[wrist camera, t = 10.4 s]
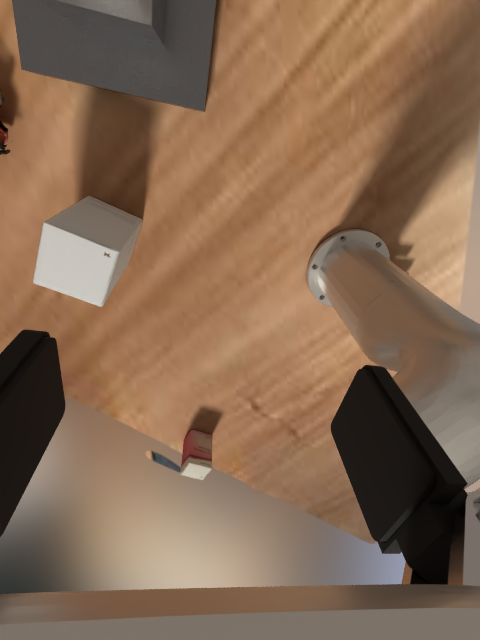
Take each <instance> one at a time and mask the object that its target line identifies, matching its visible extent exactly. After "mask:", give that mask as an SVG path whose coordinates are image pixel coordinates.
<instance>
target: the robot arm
mask: <svg viewBox="0 0 480 640" xmlns="http://www.w3.org/2000/svg"><path fill="white" fill-rule="evenodd" d="M342 236H343V237H342ZM341 237H342V238H341ZM376 243H377V244H376ZM314 264H315V265H314ZM313 265H314V266H313ZM306 275H307V283H308V287H309V289H310V291H311V293H312V294H313V296H314V297H315V298H316V299H317V300H318V301H319V302H321V303H322V304H324V305H327V306H330V307H334V309H335V310H336V312H337V313H338V315H339V316H340V318H341V319H342V321H343V322H344V324H345V325H346V327H347V328H348V330H349V331H350V333H351V335H352V336H353V338H354V339H355V341H356V342H357V344H358V345H359V347H360V348H361V349H362V351H363V352H364V354H365V355H366V356H367V357H368V358H369V359H370V360H371V361H373V362H374V363H376V364H377V365H379V366H371V365H365V366H364V367H363V368H362V369H359V370H358V371H357V373H356V375H355V377H354V379H353V381H352V383H351V385H350V387H349V389H348V391H347V393H346V395H345V397H344V399H343V401H342V403H341V405H340V407H339V409H338V411H337V413H336V415H335V417H334V419H333V421H332V423H331V433H332V436H333V438H334V441H335V443H336V446H337V449H338V451H339V454H340V456H341V459H342V461H343V464H344V467H345V469H346V472H347V474H348V477H349V479H350V482H351V485H352V487H353V490H354V492H355V495H356V498H357V500H358V503H359V505H360V508H361V510H362V513H363V516H364V518H365V521H366V523H367V526H368V528H369V531H370V534H371V536H372V537H373V539H374V540H375V541H378V544H379V546H380V549H381V551H382V553H385V554H391V553H393V554H394V553H395V554H400V553H401V552H402V553H403V556H404V558H405V560H406V563H405V568H404V574H403V579H402V584H398V585H397V584H395V585H394V584H392V585H333V586H331V585H330V586H280V587H232V588H190V589H149V590H116V591H114V590H113V591H78V592H77V591H76V592H43V593H21V594H0V640H480V488H479V489H477V490H475V491H473V492H469V493H468V492H465V490H464V489H465V488H467V487H468V486H470V485H471V484H473V483H474V482H476V481H478V480H479V479H480V324H478V323H477V322H475V321H473V320H472V319H470V318H468V317H466V316H465V315H463V314H461V313H460V312H459V311H457V310H456V309H454V308H453V307H451V306H450V305H448V304H447V303H446V302H444V301H443V300H441V299H440V298H439V297H437V296H436V295H435V294H433V293H432V292H431V291H429V290H428V289H427V288H425V287H424V286H423V285H421V284H420V283H419V282H418V281H416V280H415V279H414V278H412V277H411V276H410V275H409V273H408V272H404V271H403V270H402V269H401V268H399V267H398V266H397V265H395V264H394V263H393V262H391V261H390V254H389V251H388V248H387V246H386V245H385V243H384V242H383V241H382V240H381V239H380V238H379V237H378V236H377V235H375V234H374V233H371V232H369V231H367V230H361V229H349V230H345V231H341V232H339V233H336V234H334V235H332V236H331V237H329V238H327V239H326V240H325V241H324V242H323V243H321V244H320V245H319V247H318V248H317V249H316V250H315V251H314V253H313V255H312V256H311V258H310V261H309V263H308V267H307V273H306ZM385 368H386V369H389V370H392V371H395V372H398V373H397V374H396V375H395V376H394V377H393V378H392V377H391V375H390V374H389V372H388V371H387V370H386V369H385ZM64 411H65V399H64V391H63V384H62V377H61V370H60V363H59V356H58V349H57V342H56V339H55V338H52V337H50V335H49V333H48V332H44V331H34V330H23V331H21V332H20V333H19V334H18V335H17V336H16V338H15V339H14V340H13V341H12V342H11V343H10V344H9V345H8V346H7V347H6V348H5V349H4V351H3V352H2V353H1V354H0V537H1V535H2V534H3V532H4V530H5V528H6V526H7V525H8V522H9V521H10V518H11V517H12V515H13V513H14V511H15V509H16V507H17V505H18V503H19V501H20V499H21V497H22V495H23V493H24V491H25V489H26V487H27V485H28V483H29V482H30V479H31V478H32V475H33V474H34V471H35V470H36V468H37V466H38V464H39V462H40V460H41V458H42V456H43V454H44V452H45V450H46V448H47V446H48V444H49V442H50V440H51V438H52V436H53V435H54V432H55V430H56V428H57V427H58V425H59V423H60V421H61V419H62V417H63V414H64Z"/></svg>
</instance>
